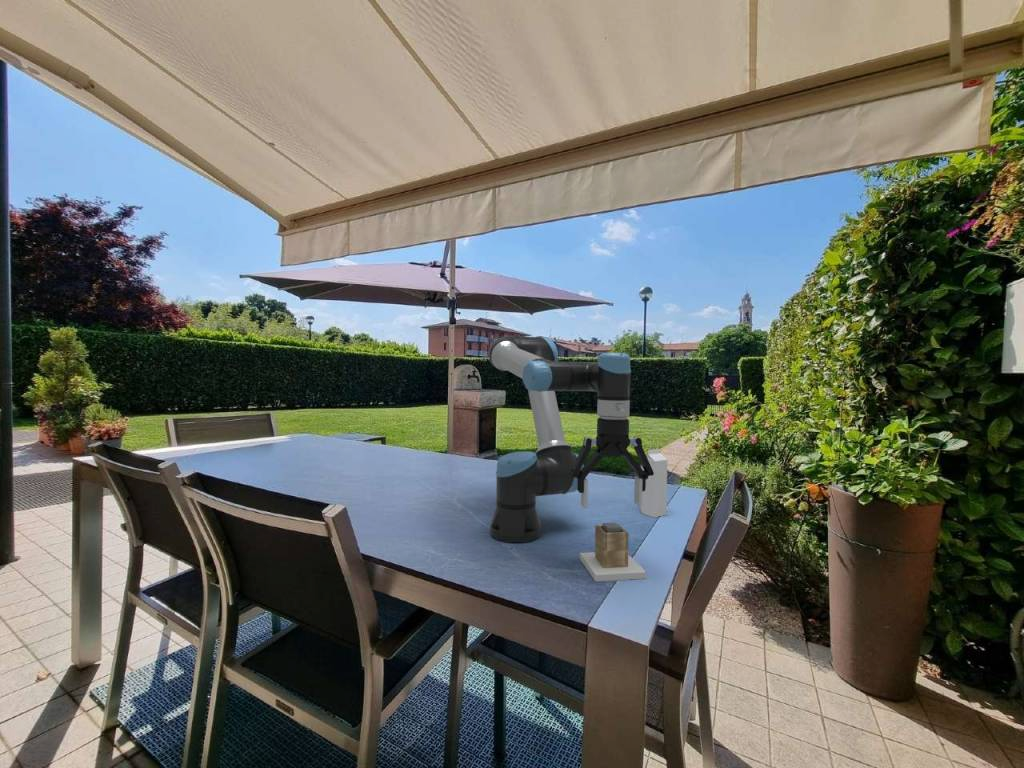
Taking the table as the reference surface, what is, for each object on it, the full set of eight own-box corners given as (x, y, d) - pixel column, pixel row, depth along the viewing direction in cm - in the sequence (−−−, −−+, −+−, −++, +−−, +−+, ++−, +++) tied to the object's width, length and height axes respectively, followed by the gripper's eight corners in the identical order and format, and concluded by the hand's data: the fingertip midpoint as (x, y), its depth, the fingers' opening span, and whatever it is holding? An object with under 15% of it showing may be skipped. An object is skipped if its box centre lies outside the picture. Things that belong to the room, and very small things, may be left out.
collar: (603, 568, 98) (604, 534, 98) (595, 557, 104) (595, 525, 104) (628, 566, 99) (628, 533, 98) (618, 556, 104) (618, 524, 104)
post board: (595, 581, 94) (596, 535, 94) (579, 558, 106) (580, 517, 106) (646, 578, 96) (646, 533, 96) (624, 556, 108) (625, 515, 108)
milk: (666, 515, 141) (668, 450, 140) (654, 518, 138) (655, 451, 137) (652, 510, 146) (653, 447, 146) (640, 512, 143) (641, 448, 143)
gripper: (566, 419, 95) (565, 511, 96) (669, 419, 98) (667, 508, 99) (558, 415, 102) (557, 501, 103) (654, 415, 106) (652, 498, 106)
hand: (611, 505), depth 101 cm, fingers open, 13 cm apart
